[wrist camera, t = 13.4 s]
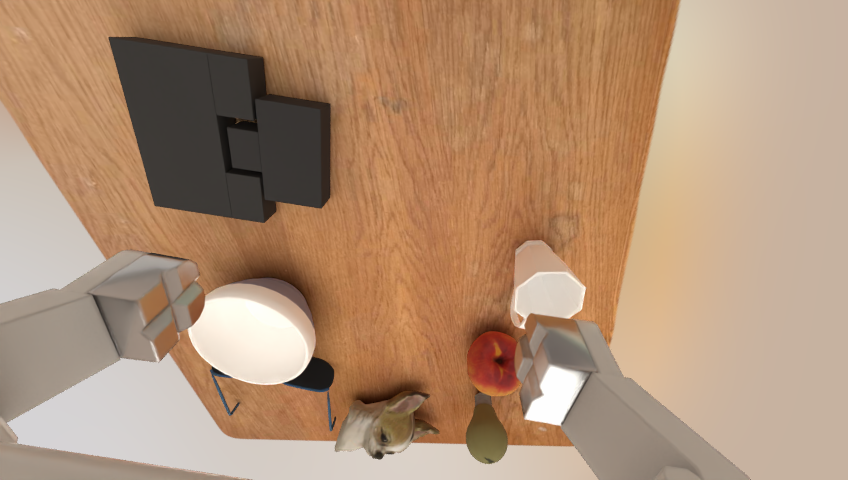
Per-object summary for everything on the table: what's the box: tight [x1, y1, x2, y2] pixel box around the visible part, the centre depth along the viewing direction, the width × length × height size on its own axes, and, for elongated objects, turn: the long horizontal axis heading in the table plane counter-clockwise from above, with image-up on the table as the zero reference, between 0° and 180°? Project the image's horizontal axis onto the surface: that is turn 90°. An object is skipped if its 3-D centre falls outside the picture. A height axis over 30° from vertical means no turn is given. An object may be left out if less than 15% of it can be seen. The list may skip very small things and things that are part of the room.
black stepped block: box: [227, 94, 330, 208], centre depth 35 cm, size 10×9×3 cm
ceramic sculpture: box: [335, 391, 439, 459], centre depth 53 cm, size 11×9×15 cm
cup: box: [510, 240, 586, 329], centre depth 38 cm, size 7×10×8 cm
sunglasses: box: [210, 357, 336, 431], centre depth 55 cm, size 17×15×5 cm
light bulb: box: [466, 392, 508, 464], centre depth 50 cm, size 6×6×10 cm
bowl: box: [188, 278, 316, 385], centre depth 44 cm, size 14×14×8 cm
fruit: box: [467, 331, 521, 396], centre depth 45 cm, size 8×8×8 cm
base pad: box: [109, 37, 276, 223], centre depth 35 cm, size 16×12×3 cm
